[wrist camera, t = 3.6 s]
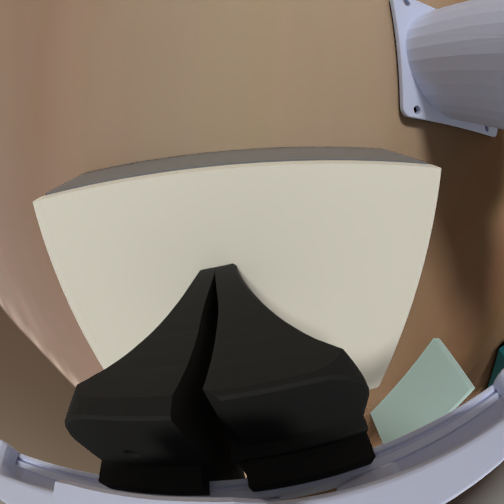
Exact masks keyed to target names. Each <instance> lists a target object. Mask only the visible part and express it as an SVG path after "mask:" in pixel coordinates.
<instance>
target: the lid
mask: <svg viewBox="0 0 504 504" xmlns="http://www.w3.org/2000/svg"><path fill="white" fill-rule="evenodd" d="M440 176H441V168H440V167H437V166H435V165H431V164H419V163H404V162H386V161H352V160H317V161H282V162H263V163H247V164H234V165H223V166H212V167H203V168H194V169H185V170H177V171H170V172H162V173H155V174H149V175H142V176H136V177H130V178H124V179H119V180H113V181H108V182H103V183H98V184H93V185H88V186H83V187H79V188H74V189H70V190H66V191H61V192H57V193H53V194H49V195H45V196H41V197H39V198H38V199H36V200H35V201H33V205H34V209H35V212H36V216H37V219H38V223H39V226H40V230H41V233H42V236H43V239H44V242H45V245H46V248H47V251H48V254H49V256H50V259H51V262H52V264H53V267H54V270H55V272H56V275H57V277H58V280H59V282H60V285H61V287H62V289H63V292H64V294H65V296H66V298H67V301H68V303H69V305H70V307H71V309H72V311H73V314H74V316H75V318H76V320H77V322H78V324H79V326H80V328H81V330H82V332H83V333H84V335H85V337H86V339H87V341H88V343H89V345H90V346H91V348H92V350H93V352H94V354H95V355H96V357H97V359H98V360H99V362H100V364H101V365H102V367H103V369H106V368H107V367H109V366H111V365H112V364H113V363H115V362H116V361H118V360H119V359H121V358H122V357H123V356H125V355H126V354H127V353H129V352H130V351H131V350H132V349H133V348H135V347H136V346H137V345H138V344H139V343H140V342H142V341H143V340H144V339H145V338H146V337H147V336H148V335H150V334H151V333H152V332H153V331H154V330H155V329H156V327H157V326H158V325H159V324H160V323H161V322H162V321H163V320H164V319H165V318H166V317H167V315H168V314H169V313H170V312H171V310H172V309H173V308H174V307H175V305H176V304H177V303H178V302H179V300H180V299H181V297H182V296H183V295H184V293H185V292H186V290H187V289H188V287H189V286H190V284H191V283H192V281H193V280H194V278H195V277H196V275H197V274H198V273H199V271H200V270H203V269H208V268H213V267H216V268H217V267H218V266H223V265H227V264H232V263H233V264H235V265H237V269H238V272H239V274H240V276H241V277H242V279H243V280H244V282H245V283H246V285H247V286H248V287H249V288H250V290H251V291H252V292H253V293H254V294H255V296H256V297H257V298H258V299H259V300H260V301H261V302H262V303H263V304H264V305H265V306H266V307H267V308H269V309H270V310H271V311H272V312H273V313H275V314H276V315H277V316H278V317H280V318H281V319H282V320H284V321H285V322H287V323H288V324H290V325H292V326H293V327H295V328H297V329H298V330H300V331H302V332H303V333H305V334H307V335H309V336H311V337H313V338H315V339H318V340H320V341H323V342H326V343H328V344H331V345H334V346H336V347H339V348H342V349H344V350H345V352H346V353H347V354H348V355H349V357H350V358H351V359H352V360H353V362H354V363H355V364H356V366H357V367H358V369H359V370H360V372H361V373H362V375H363V376H364V378H365V380H366V382H367V385H368V387H369V389H373V388H376V387H379V385H380V383H381V381H382V378H383V376H384V374H385V372H386V370H387V367H388V365H389V363H390V360H391V358H392V356H393V353H394V351H395V349H396V346H397V344H398V341H399V338H400V336H401V333H402V331H403V328H404V325H405V322H406V320H407V317H408V314H409V311H410V308H411V305H412V302H413V299H414V296H415V293H416V289H417V286H418V283H419V279H420V276H421V272H422V268H423V265H424V261H425V257H426V253H427V249H428V244H429V240H430V235H431V231H432V226H433V221H434V215H435V210H436V204H437V198H438V191H439V184H440Z"/></svg>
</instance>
